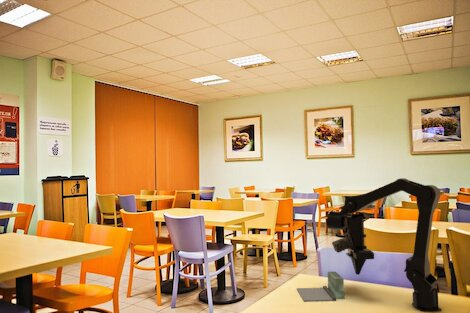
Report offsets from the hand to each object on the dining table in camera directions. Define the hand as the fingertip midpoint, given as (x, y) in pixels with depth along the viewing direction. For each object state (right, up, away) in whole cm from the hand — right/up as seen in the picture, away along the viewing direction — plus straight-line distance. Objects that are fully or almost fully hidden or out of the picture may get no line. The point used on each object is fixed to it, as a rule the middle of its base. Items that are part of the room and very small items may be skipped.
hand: (357, 274), depth 134 cm
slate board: (-16, -7, 0) cm, 18 cm away
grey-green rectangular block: (-8, -7, 0) cm, 11 cm away
